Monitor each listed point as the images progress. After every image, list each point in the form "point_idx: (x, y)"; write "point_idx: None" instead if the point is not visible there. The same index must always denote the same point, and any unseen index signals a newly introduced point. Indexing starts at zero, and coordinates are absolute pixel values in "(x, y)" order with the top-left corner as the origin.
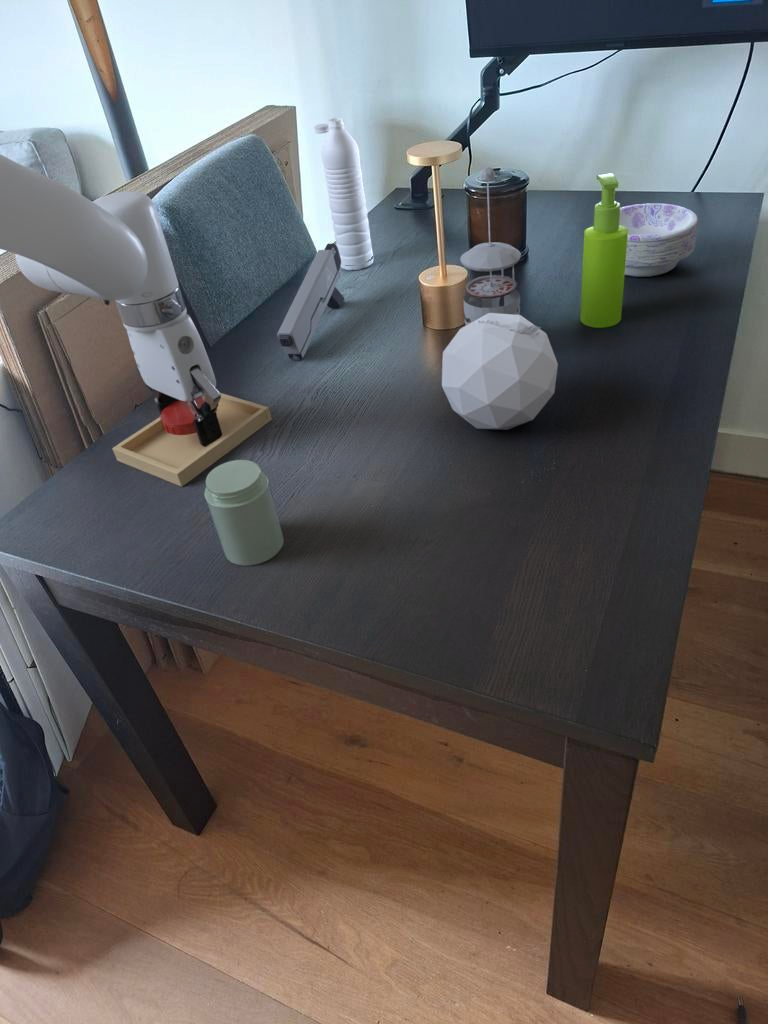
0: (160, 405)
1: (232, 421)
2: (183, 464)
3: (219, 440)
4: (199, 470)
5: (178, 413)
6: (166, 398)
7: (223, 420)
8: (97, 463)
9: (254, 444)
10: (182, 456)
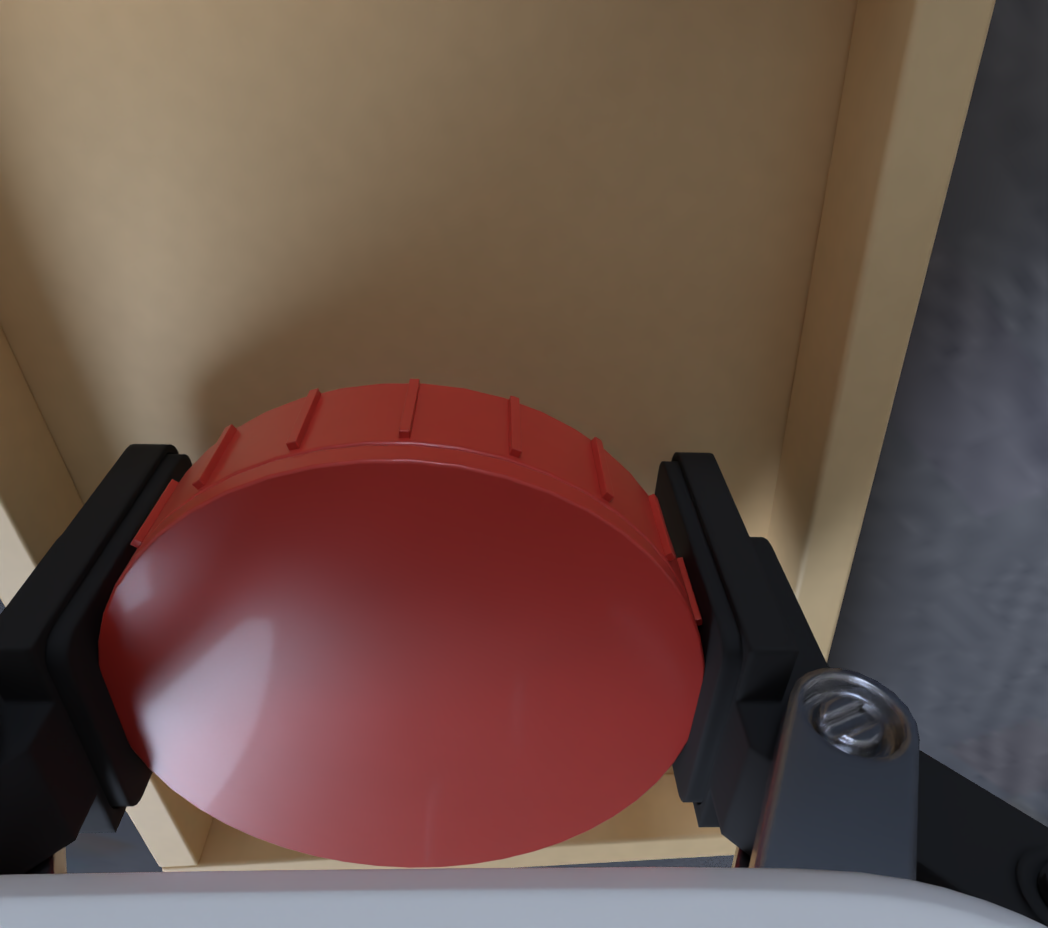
0: (114, 818)
1: (557, 176)
2: None
3: (823, 579)
4: None
5: (383, 764)
6: (65, 792)
7: (450, 211)
8: (133, 841)
9: (968, 302)
10: None
